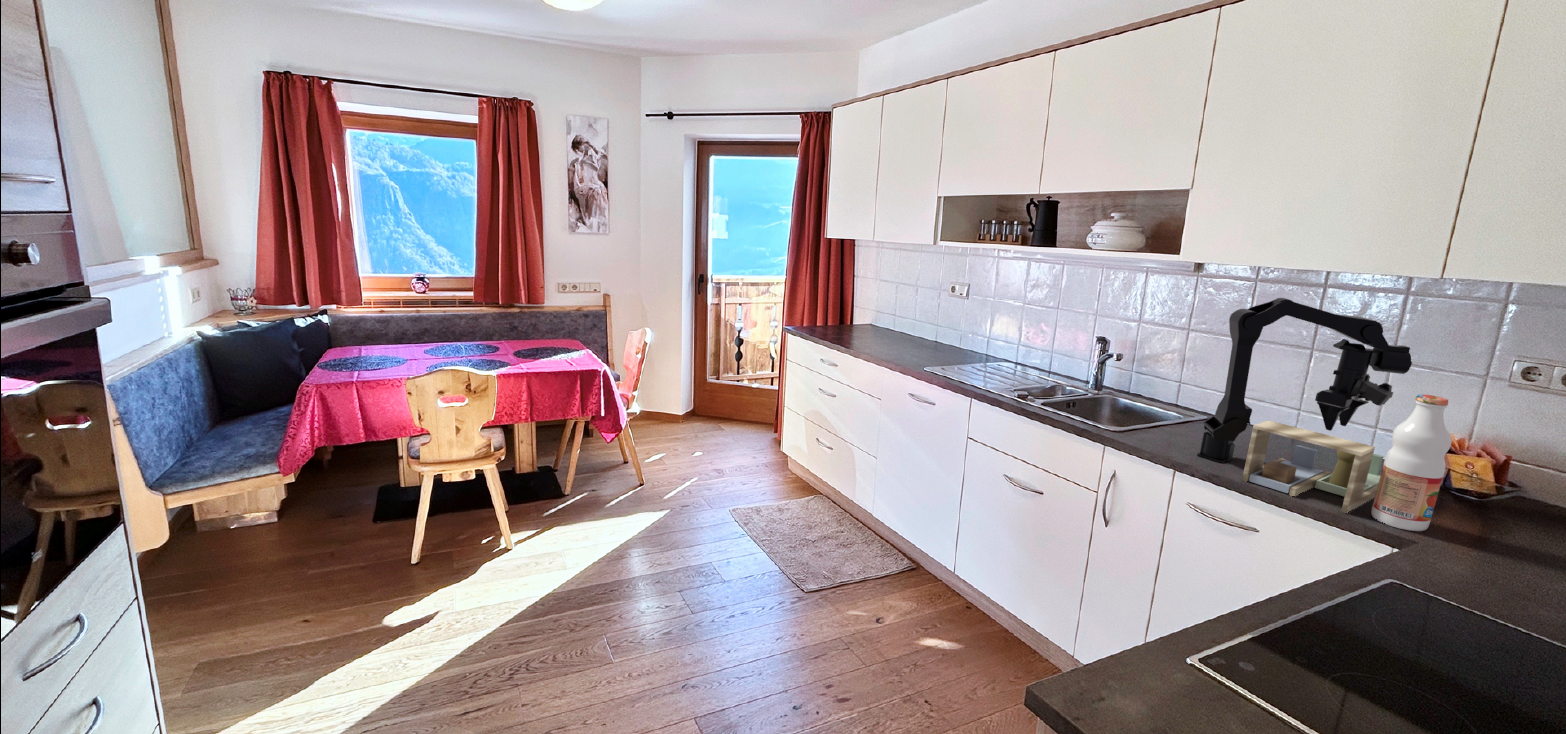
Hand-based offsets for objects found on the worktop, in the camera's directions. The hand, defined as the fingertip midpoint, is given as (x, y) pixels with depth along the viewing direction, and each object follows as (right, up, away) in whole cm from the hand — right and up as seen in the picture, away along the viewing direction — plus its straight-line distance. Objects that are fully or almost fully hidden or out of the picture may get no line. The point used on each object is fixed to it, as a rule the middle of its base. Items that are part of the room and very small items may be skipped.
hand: (1335, 427), depth 173 cm
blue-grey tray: (-16, -12, -5) cm, 21 cm away
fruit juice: (-8, -18, -26) cm, 33 cm away
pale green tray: (-2, -14, -7) cm, 16 cm away
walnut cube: (-21, -13, -8) cm, 26 cm away
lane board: (-14, -14, -9) cm, 21 cm away
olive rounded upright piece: (-7, -14, -11) cm, 19 cm away
